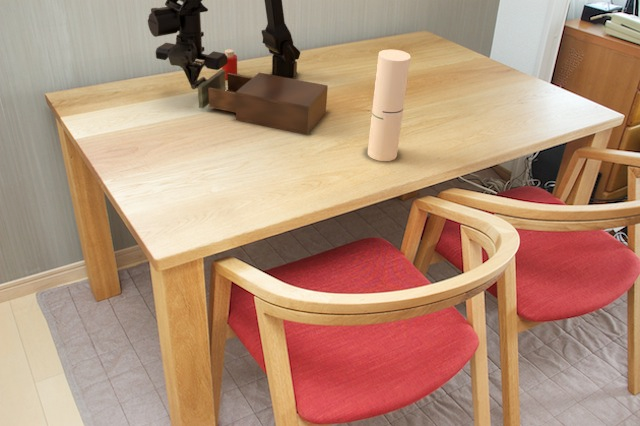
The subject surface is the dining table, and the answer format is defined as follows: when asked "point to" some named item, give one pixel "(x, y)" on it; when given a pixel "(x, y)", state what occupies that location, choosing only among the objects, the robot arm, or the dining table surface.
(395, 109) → the cylindrical container
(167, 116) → the dining table surface
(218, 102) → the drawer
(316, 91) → the cabinet
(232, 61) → the ketchup bottle
